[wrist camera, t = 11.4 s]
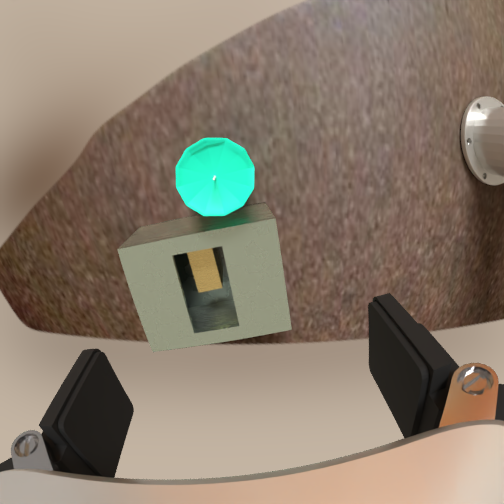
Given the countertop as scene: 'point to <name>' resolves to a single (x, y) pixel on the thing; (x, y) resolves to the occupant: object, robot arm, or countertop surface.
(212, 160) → the candle
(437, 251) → the countertop surface
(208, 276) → the block
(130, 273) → the coin box
